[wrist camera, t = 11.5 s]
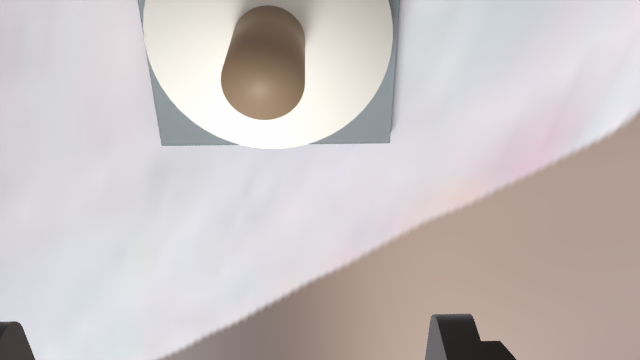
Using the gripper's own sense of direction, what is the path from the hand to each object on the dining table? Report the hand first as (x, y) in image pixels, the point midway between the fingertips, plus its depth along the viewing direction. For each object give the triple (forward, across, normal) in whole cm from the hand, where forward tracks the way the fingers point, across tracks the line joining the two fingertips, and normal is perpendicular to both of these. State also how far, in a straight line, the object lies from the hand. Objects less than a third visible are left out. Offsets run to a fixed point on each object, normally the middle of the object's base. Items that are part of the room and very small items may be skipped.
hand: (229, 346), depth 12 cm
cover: (+19, 0, 0) cm, 19 cm away
